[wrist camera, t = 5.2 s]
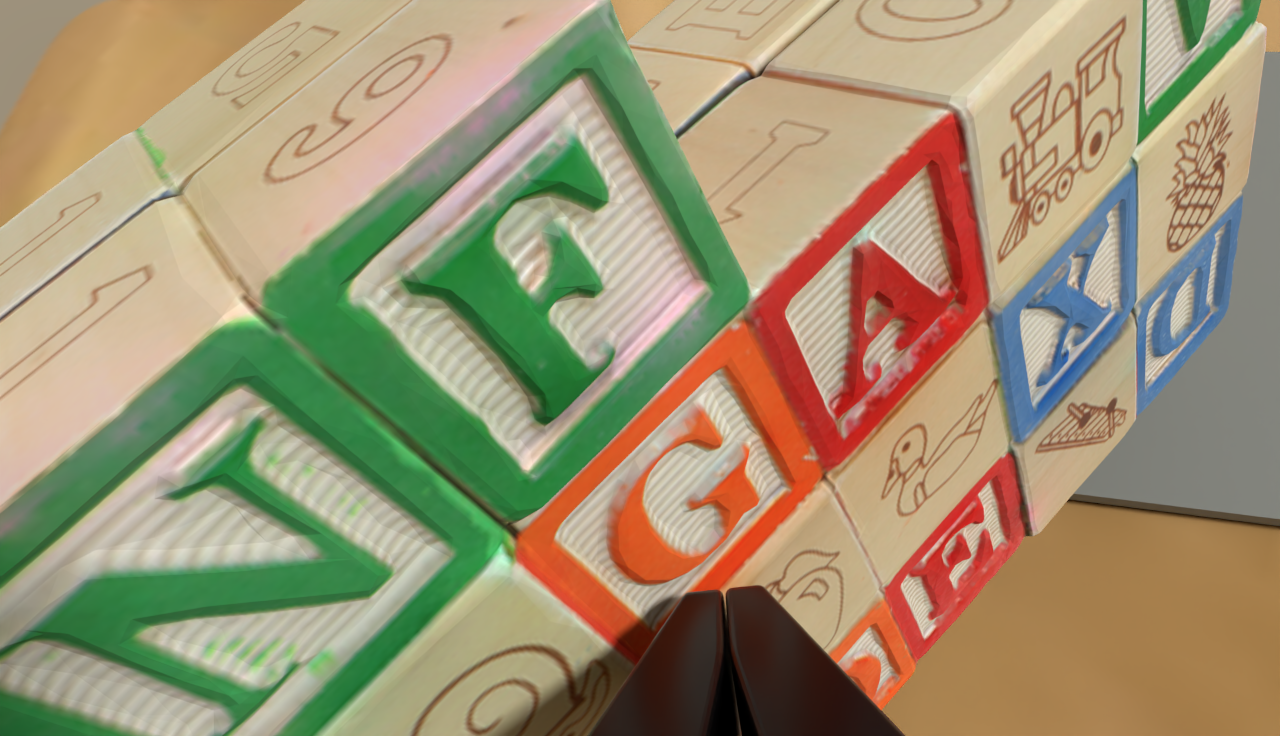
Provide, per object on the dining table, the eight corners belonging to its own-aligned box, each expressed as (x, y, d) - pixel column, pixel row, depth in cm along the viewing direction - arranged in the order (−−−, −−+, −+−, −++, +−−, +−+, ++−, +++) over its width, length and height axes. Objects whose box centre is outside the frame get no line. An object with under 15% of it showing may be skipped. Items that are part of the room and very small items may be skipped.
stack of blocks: (955, 228, 19) (835, -404, 11) (1235, 317, 15) (1383, -638, 7) (269, 917, 15) (-700, 725, 7) (366, 1323, 11) (-1949, 2058, 3)
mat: (1387, 539, 15) (1402, 534, 15) (323, 405, 21) (315, 398, 20) (1283, 63, 21) (1291, 52, 20) (461, 54, 26) (457, 45, 26)
